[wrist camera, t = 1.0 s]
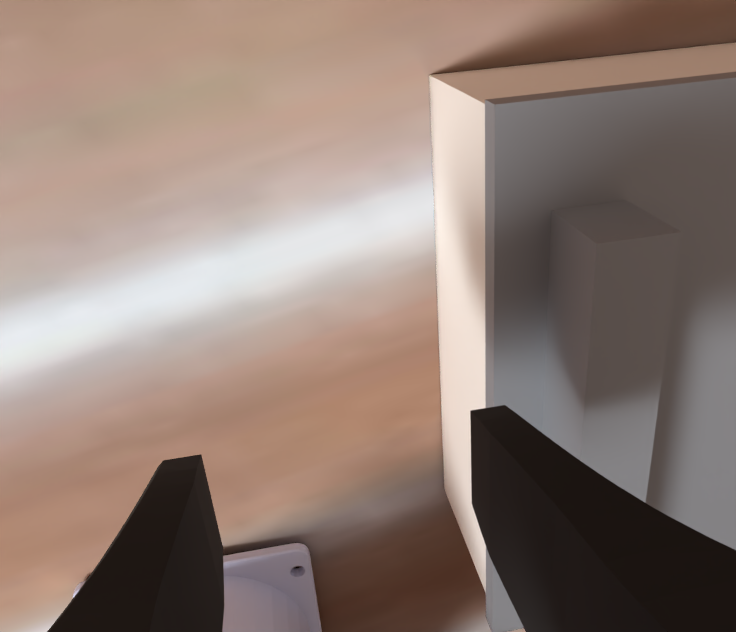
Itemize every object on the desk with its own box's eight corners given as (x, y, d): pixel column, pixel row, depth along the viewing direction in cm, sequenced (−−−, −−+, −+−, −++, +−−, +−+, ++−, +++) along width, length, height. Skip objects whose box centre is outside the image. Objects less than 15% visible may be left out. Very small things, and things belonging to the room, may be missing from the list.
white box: (853, 417, 26) (978, 506, 22) (444, 489, 25) (489, 602, 20) (968, 17, 20) (1176, 29, 16) (429, 75, 18) (489, 106, 14)
